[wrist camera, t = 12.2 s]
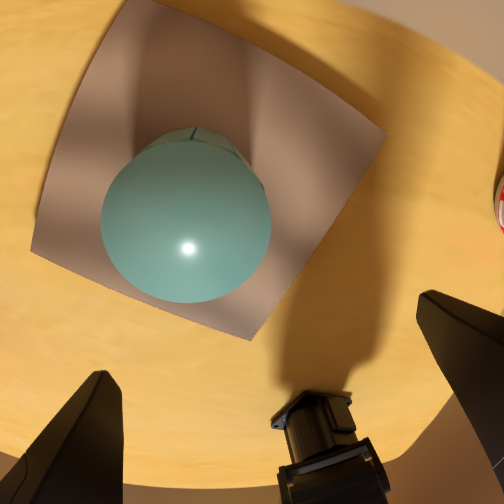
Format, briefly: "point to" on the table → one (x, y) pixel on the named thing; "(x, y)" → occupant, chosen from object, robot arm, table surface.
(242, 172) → the cap
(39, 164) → the table surface
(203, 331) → the table surface
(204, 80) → the post base
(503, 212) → the soda can
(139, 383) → the table surface
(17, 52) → the table surface
